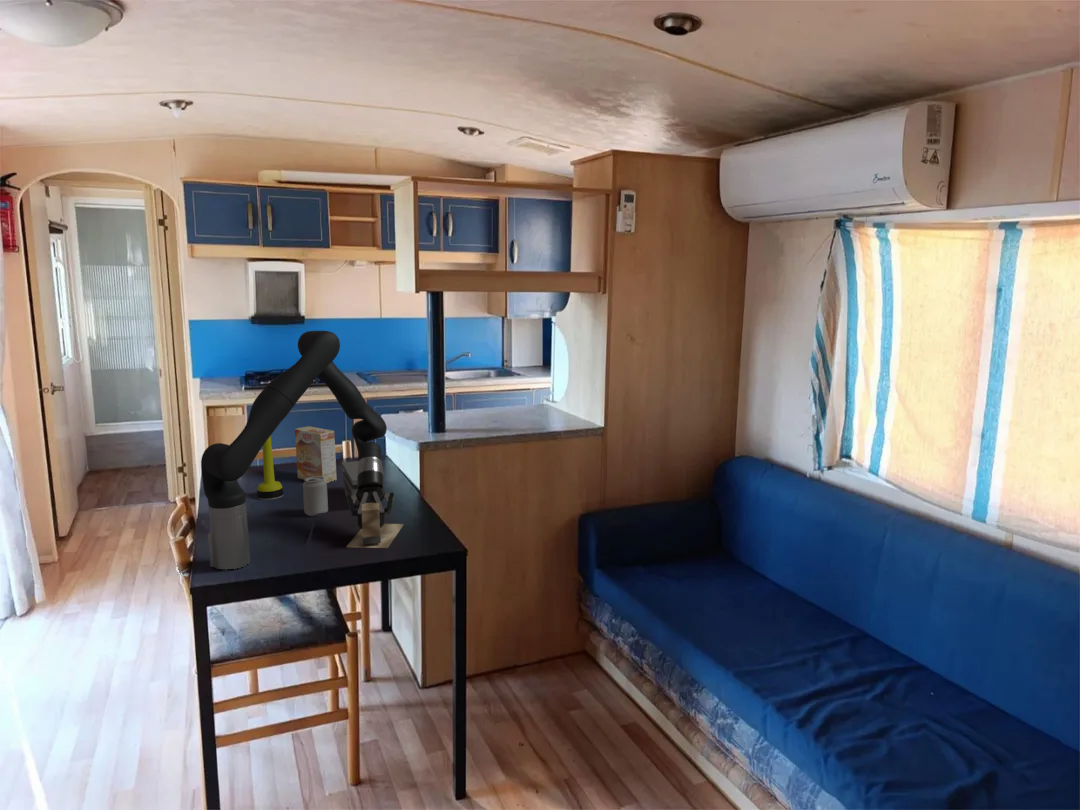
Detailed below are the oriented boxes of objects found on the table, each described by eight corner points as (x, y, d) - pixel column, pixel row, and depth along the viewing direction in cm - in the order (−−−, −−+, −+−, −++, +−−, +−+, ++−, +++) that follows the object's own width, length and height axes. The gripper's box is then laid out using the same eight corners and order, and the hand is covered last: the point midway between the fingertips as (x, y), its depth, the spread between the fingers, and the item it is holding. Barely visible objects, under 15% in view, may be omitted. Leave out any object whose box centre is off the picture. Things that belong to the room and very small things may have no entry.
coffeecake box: (296, 478, 282) (293, 428, 279) (312, 474, 288) (309, 425, 285) (322, 484, 274) (319, 433, 270) (337, 480, 280) (334, 430, 276)
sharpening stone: (343, 491, 265) (341, 462, 263) (365, 489, 268) (363, 460, 266) (353, 512, 242) (352, 480, 241) (377, 509, 245) (376, 478, 244)
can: (318, 508, 246) (316, 474, 244) (333, 512, 242) (331, 477, 240) (299, 514, 240) (297, 479, 238) (314, 518, 236) (312, 482, 234)
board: (346, 551, 209) (345, 547, 208) (366, 527, 228) (365, 523, 228) (387, 551, 208) (387, 547, 208) (404, 527, 228) (404, 524, 227)
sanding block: (362, 544, 209) (361, 510, 207) (363, 533, 217) (361, 501, 215) (380, 543, 210) (379, 509, 208) (380, 532, 218) (379, 500, 216)
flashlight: (262, 430, 249) (284, 426, 257) (246, 427, 254) (268, 423, 262) (267, 501, 254) (289, 495, 261) (251, 497, 259) (273, 490, 266)
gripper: (344, 470, 216) (344, 523, 206) (394, 467, 219) (396, 519, 209) (346, 482, 222) (346, 534, 212) (394, 480, 225) (396, 531, 215)
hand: (371, 526), depth 211 cm, fingers closed on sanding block, 4 cm apart
